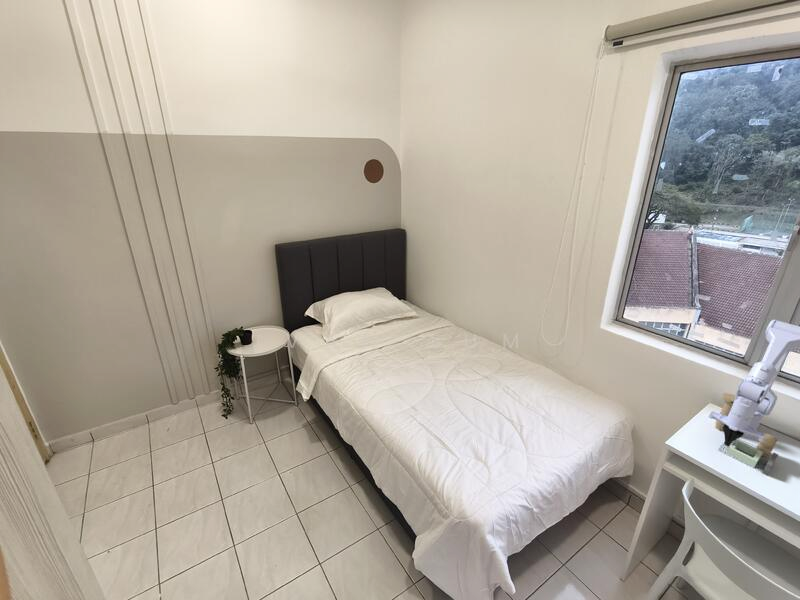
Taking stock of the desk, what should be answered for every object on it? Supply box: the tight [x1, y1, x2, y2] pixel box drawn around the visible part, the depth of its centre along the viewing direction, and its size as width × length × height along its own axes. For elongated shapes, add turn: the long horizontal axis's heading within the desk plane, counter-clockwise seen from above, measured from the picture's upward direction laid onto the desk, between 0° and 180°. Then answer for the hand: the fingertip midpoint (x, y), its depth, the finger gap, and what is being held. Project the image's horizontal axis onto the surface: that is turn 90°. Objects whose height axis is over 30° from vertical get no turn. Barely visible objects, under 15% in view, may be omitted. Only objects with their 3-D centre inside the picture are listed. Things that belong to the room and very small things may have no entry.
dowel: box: [755, 433, 778, 458], centre depth 126 cm, size 4×4×7 cm
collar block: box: [726, 439, 763, 468], centre depth 126 cm, size 7×7×2 cm
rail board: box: [717, 437, 779, 476], centre depth 127 cm, size 14×13×5 cm
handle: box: [714, 392, 736, 432], centre depth 136 cm, size 5×6×15 cm
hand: (727, 444), depth 129 cm, fingers closed
